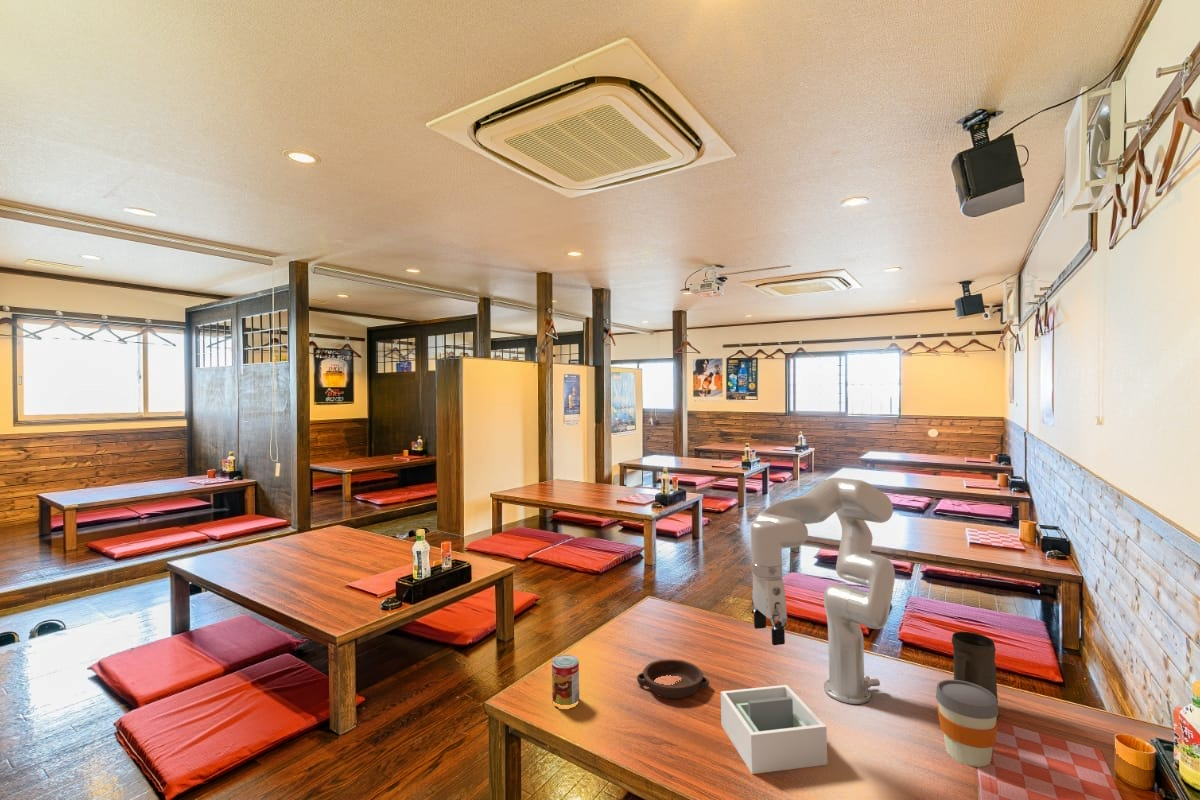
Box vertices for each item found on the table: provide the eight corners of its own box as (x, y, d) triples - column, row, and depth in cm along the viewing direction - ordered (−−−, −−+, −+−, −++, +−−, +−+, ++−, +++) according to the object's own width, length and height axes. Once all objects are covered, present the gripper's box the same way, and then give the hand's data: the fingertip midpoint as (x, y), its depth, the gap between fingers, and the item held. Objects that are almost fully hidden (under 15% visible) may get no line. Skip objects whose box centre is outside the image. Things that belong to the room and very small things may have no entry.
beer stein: (957, 692, 154) (953, 625, 153) (1002, 706, 146) (999, 636, 145) (944, 718, 143) (940, 647, 142) (992, 735, 135) (989, 659, 134)
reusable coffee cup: (1013, 765, 122) (1011, 701, 123) (973, 777, 119) (971, 711, 119) (962, 734, 134) (961, 675, 135) (925, 743, 131) (923, 683, 131)
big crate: (787, 717, 143) (786, 684, 143) (827, 764, 124) (826, 726, 124) (721, 725, 140) (720, 691, 140) (752, 774, 121) (751, 735, 121)
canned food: (556, 693, 157) (556, 653, 157) (582, 696, 155) (581, 655, 156) (549, 708, 149) (548, 666, 149) (575, 711, 148) (574, 668, 148)
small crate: (782, 721, 139) (781, 684, 139) (808, 753, 126) (807, 712, 127) (736, 726, 137) (735, 688, 138) (758, 759, 125) (757, 717, 125)
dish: (711, 706, 149) (711, 689, 149) (635, 702, 152) (634, 685, 152) (707, 675, 166) (706, 659, 166) (638, 672, 169) (638, 656, 169)
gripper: (798, 579, 127) (800, 649, 127) (764, 558, 144) (766, 620, 144) (769, 581, 126) (771, 653, 125) (739, 561, 143) (741, 623, 142)
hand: (769, 635), depth 134 cm, fingers open, 9 cm apart
